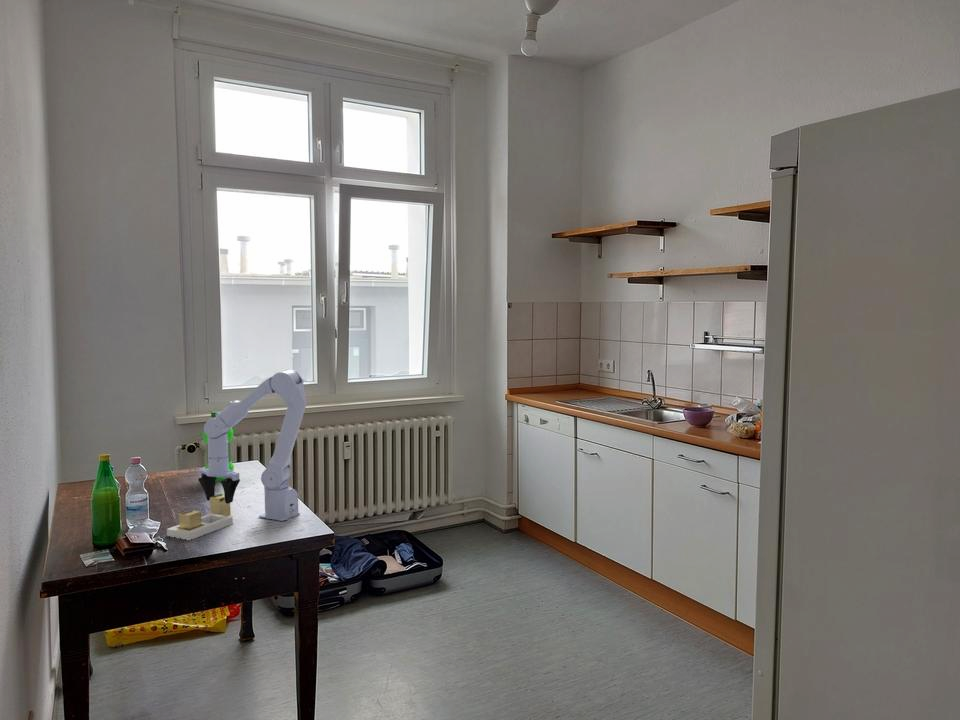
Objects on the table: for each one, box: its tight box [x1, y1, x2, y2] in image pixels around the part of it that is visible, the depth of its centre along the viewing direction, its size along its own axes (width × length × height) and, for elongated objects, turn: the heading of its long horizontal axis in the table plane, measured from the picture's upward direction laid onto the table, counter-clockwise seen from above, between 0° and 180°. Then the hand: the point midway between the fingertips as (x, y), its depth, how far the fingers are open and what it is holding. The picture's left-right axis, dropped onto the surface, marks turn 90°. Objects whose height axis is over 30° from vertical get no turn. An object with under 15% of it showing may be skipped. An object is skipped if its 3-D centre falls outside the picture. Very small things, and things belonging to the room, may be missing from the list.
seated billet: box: [178, 509, 202, 531], centre depth 188 cm, size 4×4×6 cm
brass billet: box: [209, 493, 232, 516], centre depth 204 cm, size 4×4×6 cm
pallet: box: [166, 513, 234, 541], centre depth 191 cm, size 8×16×2 cm, turn 155°
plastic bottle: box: [202, 410, 235, 482], centre depth 246 cm, size 10×10×25 cm
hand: (219, 501), depth 204 cm, fingers open, 7 cm apart
